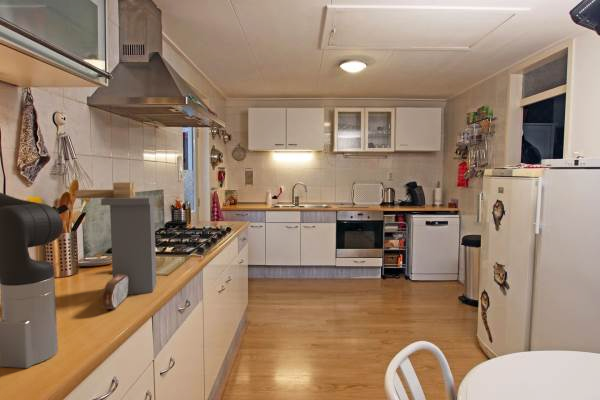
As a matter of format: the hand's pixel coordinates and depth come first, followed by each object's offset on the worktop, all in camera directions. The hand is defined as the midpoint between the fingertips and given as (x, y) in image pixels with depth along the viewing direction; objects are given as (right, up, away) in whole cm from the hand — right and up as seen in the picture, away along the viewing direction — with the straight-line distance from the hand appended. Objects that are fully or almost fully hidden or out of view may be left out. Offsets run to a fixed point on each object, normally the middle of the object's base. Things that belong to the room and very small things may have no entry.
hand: (62, 207), depth 114 cm
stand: (+19, -28, +8) cm, 35 cm away
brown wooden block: (+12, +3, +3) cm, 13 cm away
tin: (+21, -30, -6) cm, 37 cm away
